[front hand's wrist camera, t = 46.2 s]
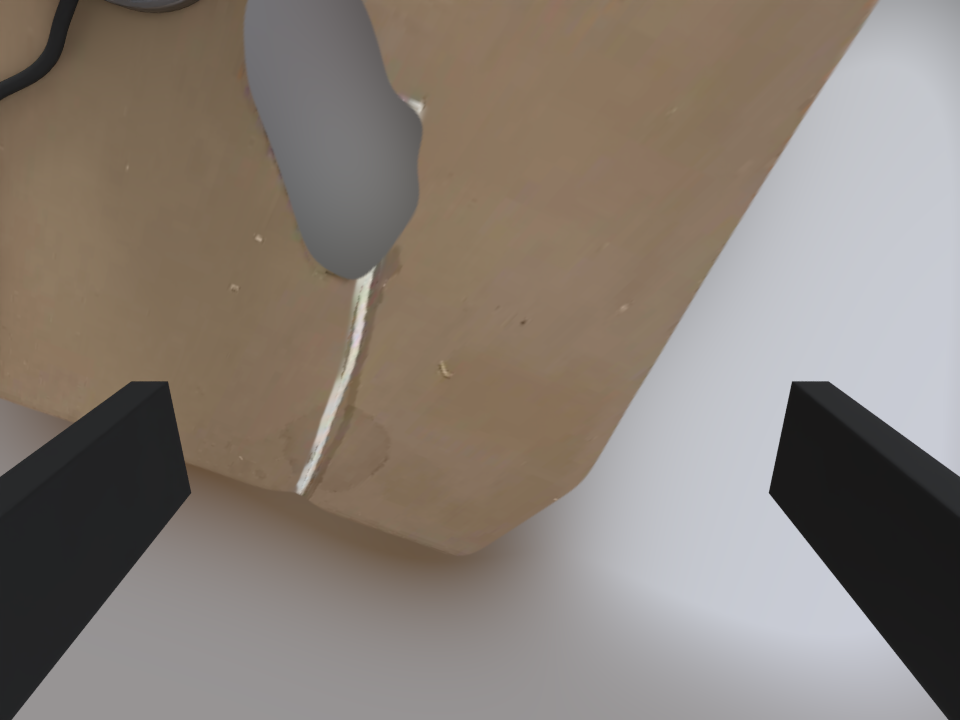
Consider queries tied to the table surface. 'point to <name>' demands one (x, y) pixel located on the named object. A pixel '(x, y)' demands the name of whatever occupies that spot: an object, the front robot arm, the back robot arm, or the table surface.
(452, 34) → the table surface
